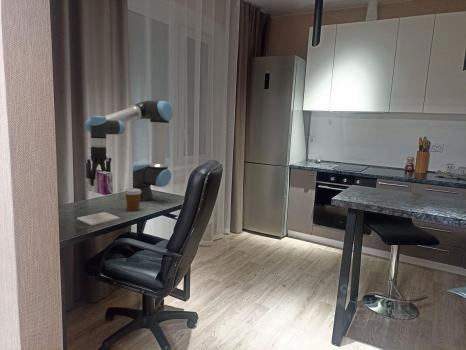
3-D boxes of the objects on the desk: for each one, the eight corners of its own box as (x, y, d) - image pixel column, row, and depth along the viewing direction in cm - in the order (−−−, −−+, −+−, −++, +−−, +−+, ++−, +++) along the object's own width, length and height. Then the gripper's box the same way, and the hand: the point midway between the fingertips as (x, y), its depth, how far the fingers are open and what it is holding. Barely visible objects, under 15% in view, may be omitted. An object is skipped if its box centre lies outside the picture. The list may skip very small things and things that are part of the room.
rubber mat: (104, 213, 186) (104, 211, 186) (119, 218, 178) (119, 217, 178) (76, 219, 174) (76, 217, 173) (91, 225, 165) (91, 223, 165)
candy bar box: (113, 172, 167) (95, 168, 177) (104, 173, 163) (86, 169, 173) (113, 194, 169) (95, 188, 179) (104, 195, 165) (87, 190, 175)
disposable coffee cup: (123, 211, 191) (123, 191, 189) (125, 207, 200) (125, 188, 198) (140, 211, 193) (140, 191, 191) (141, 207, 202) (142, 188, 200)
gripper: (85, 147, 159) (86, 194, 163) (118, 146, 174) (118, 190, 177) (77, 146, 164) (78, 192, 168) (110, 145, 178) (110, 187, 182)
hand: (98, 190), depth 172 cm, fingers closed on candy bar box, 5 cm apart
